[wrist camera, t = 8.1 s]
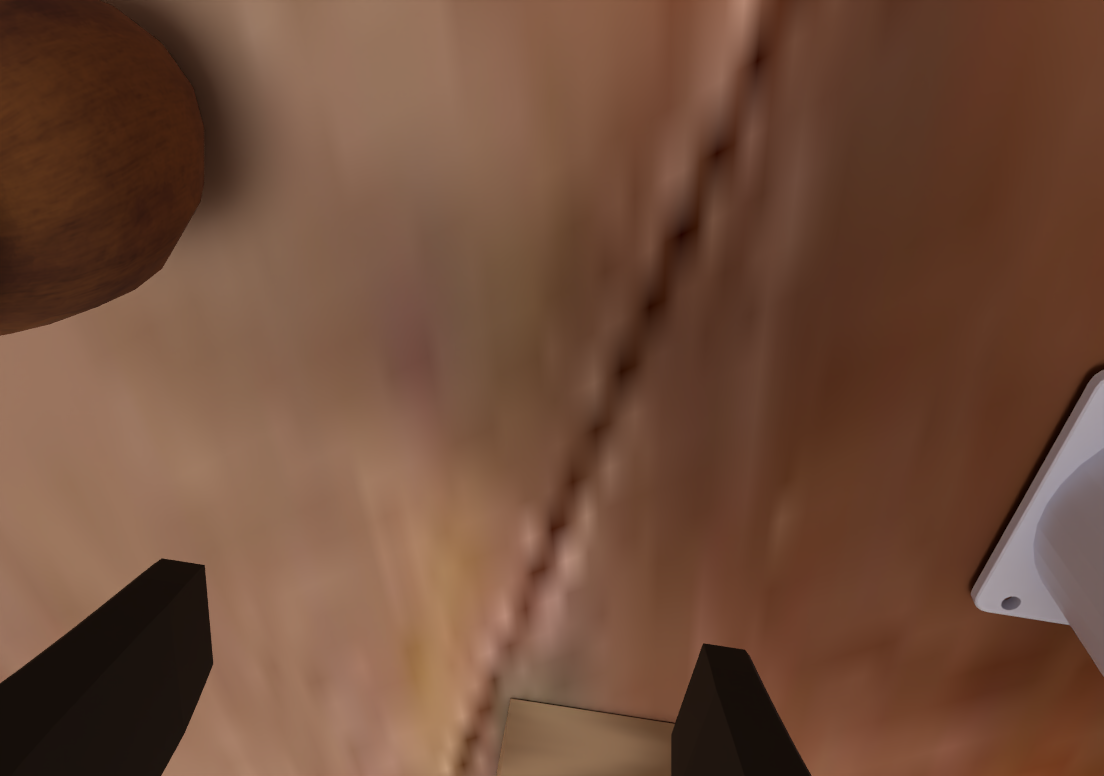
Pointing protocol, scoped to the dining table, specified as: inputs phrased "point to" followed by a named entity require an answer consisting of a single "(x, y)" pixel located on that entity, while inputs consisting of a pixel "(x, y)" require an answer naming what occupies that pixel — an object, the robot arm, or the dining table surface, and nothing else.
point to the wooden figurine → (88, 158)
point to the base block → (581, 743)
